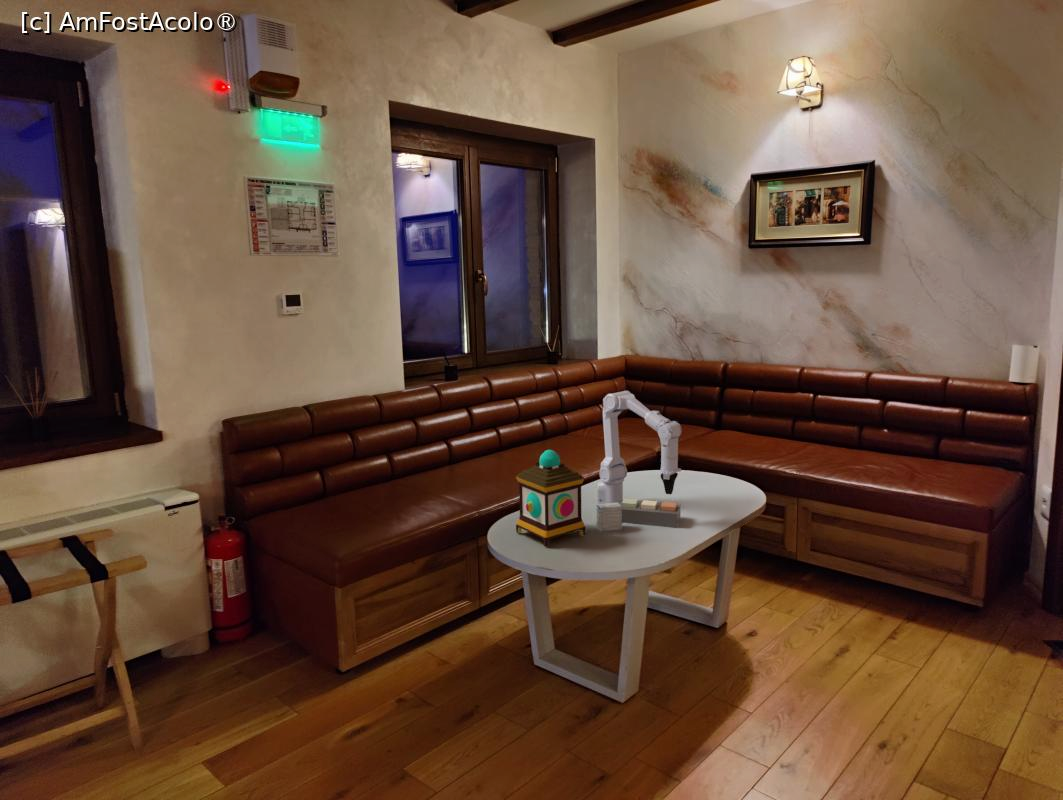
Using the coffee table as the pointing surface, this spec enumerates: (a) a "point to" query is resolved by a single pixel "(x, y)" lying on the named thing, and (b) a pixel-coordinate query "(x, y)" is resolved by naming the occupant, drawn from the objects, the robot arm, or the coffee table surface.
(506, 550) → the coffee table surface
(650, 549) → the coffee table surface
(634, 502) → the sage key
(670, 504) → the terracotta key
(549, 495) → the decorative lantern
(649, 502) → the cream key
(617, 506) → the medicine box
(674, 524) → the key panel
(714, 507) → the coffee table surface
